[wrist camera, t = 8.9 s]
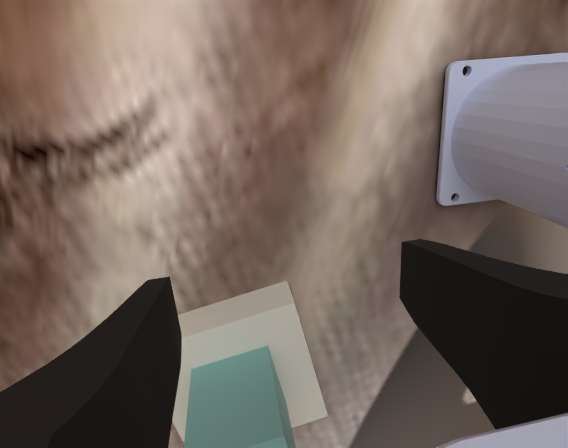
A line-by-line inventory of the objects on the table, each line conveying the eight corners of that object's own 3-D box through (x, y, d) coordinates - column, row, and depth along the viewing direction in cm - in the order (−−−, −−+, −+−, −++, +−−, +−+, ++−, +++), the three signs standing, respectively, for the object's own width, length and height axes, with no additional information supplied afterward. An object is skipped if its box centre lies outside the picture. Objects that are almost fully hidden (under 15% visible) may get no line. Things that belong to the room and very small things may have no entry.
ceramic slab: (285, 277, 24) (294, 302, 21) (316, 382, 27) (328, 416, 24) (146, 320, 23) (136, 352, 21) (195, 422, 27) (193, 461, 24)
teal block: (267, 345, 22) (283, 435, 16) (286, 401, 24) (306, 500, 18) (191, 369, 22) (181, 468, 16) (215, 424, 23) (214, 531, 18)
